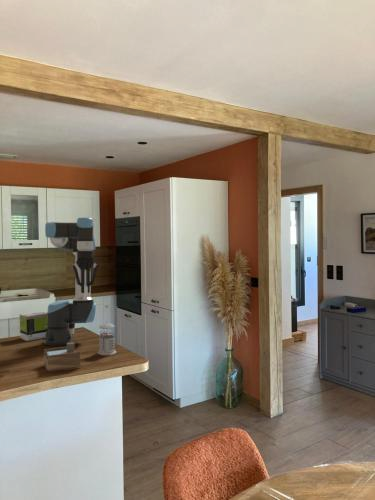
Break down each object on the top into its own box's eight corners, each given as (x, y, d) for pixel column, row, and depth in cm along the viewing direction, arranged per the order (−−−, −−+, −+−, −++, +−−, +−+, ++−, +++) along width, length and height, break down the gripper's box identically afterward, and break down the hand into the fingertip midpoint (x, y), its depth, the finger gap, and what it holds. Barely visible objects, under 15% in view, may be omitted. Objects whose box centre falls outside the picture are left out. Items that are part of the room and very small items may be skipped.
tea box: (43, 334, 256) (43, 310, 255) (51, 337, 249) (51, 312, 248) (19, 338, 245) (19, 313, 245) (26, 341, 238) (26, 316, 238)
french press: (119, 350, 219) (119, 303, 219) (109, 356, 208) (109, 307, 207) (102, 349, 222) (102, 303, 221) (92, 355, 211) (92, 306, 210)
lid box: (44, 365, 194) (44, 349, 194) (74, 361, 200) (74, 345, 200) (48, 372, 183) (48, 355, 183) (80, 368, 190) (80, 351, 190)
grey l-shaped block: (46, 354, 193) (46, 343, 193) (72, 351, 199) (72, 340, 199) (50, 360, 184) (50, 348, 184) (77, 357, 190) (77, 345, 190)
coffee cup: (76, 335, 252) (76, 311, 252) (59, 336, 250) (59, 312, 249) (75, 332, 262) (75, 308, 262) (59, 333, 259) (59, 309, 259)
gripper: (73, 250, 189) (73, 301, 190) (100, 250, 195) (101, 299, 196) (69, 250, 196) (69, 299, 196) (96, 249, 202) (96, 297, 203)
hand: (85, 299), depth 196 cm, fingers closed
